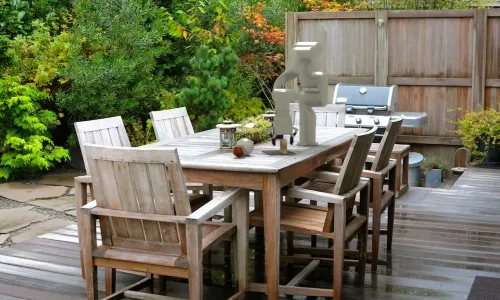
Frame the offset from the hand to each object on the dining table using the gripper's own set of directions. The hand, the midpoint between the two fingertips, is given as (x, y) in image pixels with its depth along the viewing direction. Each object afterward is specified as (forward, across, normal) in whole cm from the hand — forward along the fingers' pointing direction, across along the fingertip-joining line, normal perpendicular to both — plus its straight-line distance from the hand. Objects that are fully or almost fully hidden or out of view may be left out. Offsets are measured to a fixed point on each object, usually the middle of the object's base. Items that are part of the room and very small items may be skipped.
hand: (282, 145), depth 382 cm
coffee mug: (+6, +18, +64) cm, 67 cm away
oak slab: (0, -1, 0) cm, 1 cm away
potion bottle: (+4, -24, -7) cm, 25 cm away
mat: (+4, -2, 0) cm, 5 cm away
